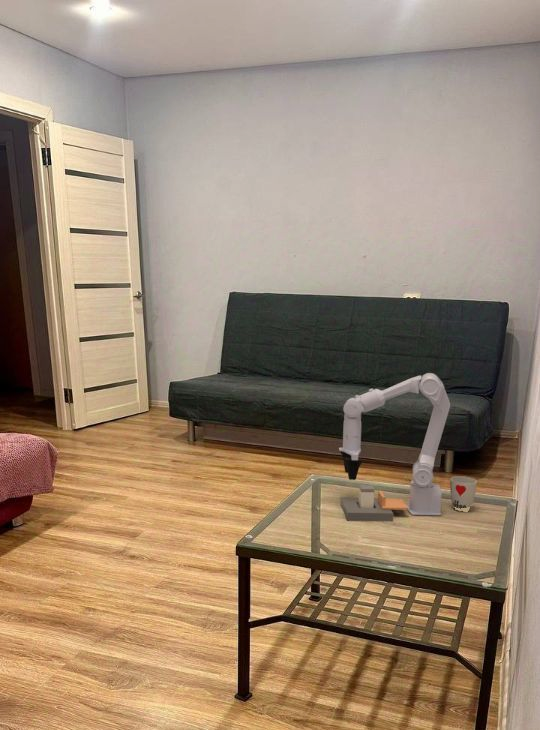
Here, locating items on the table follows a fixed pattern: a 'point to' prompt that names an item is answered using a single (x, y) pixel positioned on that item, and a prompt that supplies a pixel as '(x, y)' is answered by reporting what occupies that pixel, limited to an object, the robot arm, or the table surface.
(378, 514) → the socket housing
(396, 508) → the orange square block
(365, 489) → the beige rectangular block
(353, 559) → the table surface
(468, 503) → the cup
